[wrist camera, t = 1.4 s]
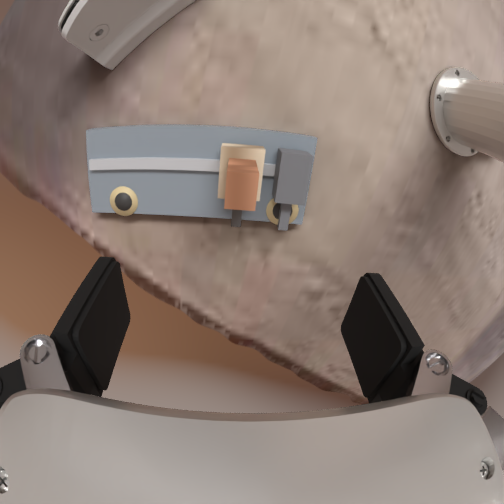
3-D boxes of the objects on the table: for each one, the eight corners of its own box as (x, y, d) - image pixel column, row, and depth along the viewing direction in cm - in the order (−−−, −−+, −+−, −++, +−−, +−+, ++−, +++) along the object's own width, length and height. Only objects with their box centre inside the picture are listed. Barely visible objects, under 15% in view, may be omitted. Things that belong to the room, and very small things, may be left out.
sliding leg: (263, 145, 26) (271, 162, 20) (254, 221, 31) (258, 260, 24) (222, 142, 26) (216, 157, 19) (217, 219, 30) (211, 257, 24)
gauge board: (313, 136, 28) (326, 143, 24) (298, 221, 33) (307, 240, 29) (92, 128, 25) (71, 134, 21) (97, 209, 31) (80, 226, 27)
